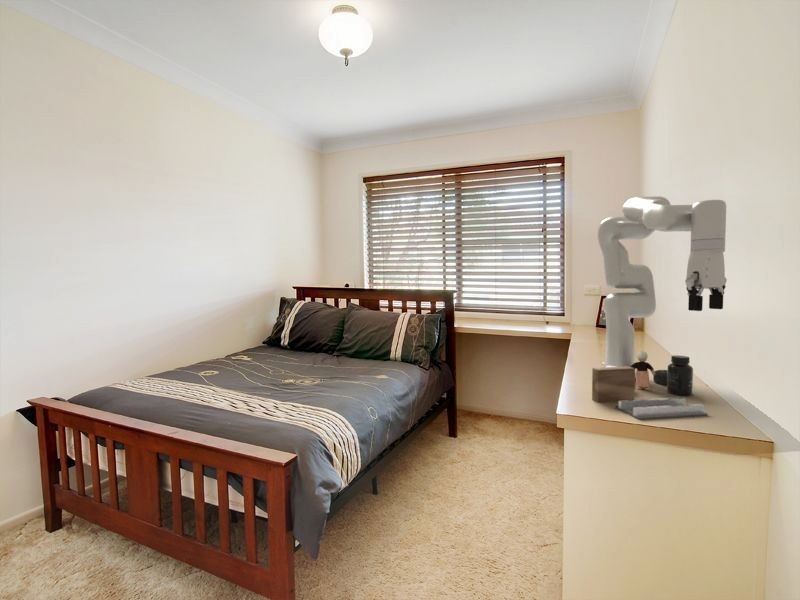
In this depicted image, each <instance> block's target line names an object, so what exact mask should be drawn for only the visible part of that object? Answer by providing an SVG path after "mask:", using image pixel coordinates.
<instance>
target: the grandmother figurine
mask: <svg viewBox="0 0 800 600" xmlns="http://www.w3.org/2000/svg"><path fill="white" fill-rule="evenodd" d="M635 355H636V356H635V357H636V358H637V360H638V361H636V362H634V364H632V365H631V366H630V367H632V368H635V372H636V379H635V389H636V390H646V391H651V390H652V387H650V374H649V371H650V372H651V374H652V376H653V375H655V374H656V373H655V371H656V370H655V369H654V367H653V366H652V365H651V364H650V363H649V362H648V361H647V359H648V355H649V354H648V353H647V352H646V351H639V352H637V354H635ZM646 361H647V362H646Z"/></svg>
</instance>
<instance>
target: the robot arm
mask: <svg viewBox="0 0 800 600" xmlns="http://www.w3.org/2000/svg"><path fill="white" fill-rule="evenodd" d="M622 214H623V216H612V217H607V218H605V219H603V220H602V221H601V222H600V223H599V226H598V229H597V240H598V244H599V247H600V249H601V253H602V257H603V266H604V268H603V269H604V275H605V283H606V285H607V288H609V289H612V290H634V292H614V293H610V294H608V295H607V296H606V297H605V298H604V300H603V310H604V311H603V312H604V315H605V325H606V326H605V333H606V335H605V336H606V337H605V339H606V340H605V343H606V344H605V361H604V362H602V365H601V366H603V367H606V366H608V365H609V366H617V367H625V366H629V367H630V366H631V365H632V364H634V363H635V355H636V354H635V348H636V347H635V344H636V343H635V339H636V332H635V331H636V330H635V327H634V325H633V324H632V322H631V321H630V319H632V318H633V319H635V318H637V319H639V318H640V319H642V318H649V317H651V316H653V315H654V313H655V311H656V309H657V303H656V301H657V300H656V293H655V291H656V290H655V284H654V277H653V272H652V270H651V269H650V268H649V267H648V266H647V265H645V264H641V263H636V264H633V263H632V264H631V262H630V259H629V258H630V257H629V252H628V250H627V248H626V247H625V246H624V244H623V243H621V242H620V240H643V239H646V238H648V237H649V236H651V235H653V233H654V232H656V231H659V232H663V233H664V232H666V233H667V232H669V233H670V232H690V249H689V250H690V251H689V252H690V253H689V255H688V259H687V265H686V266H687V268H686V278H685V281H684V282H685V286H686V291H687V296H688V304H687V305H688V307H687V310H689V311H693V312H695V311H696V312H701V311H703V304H704V303H703V300H704V299H703V298H704V297H703V295H702V294H703V292H704V290H705V289H708V291H710V294H709V297H708V298H709V299H708V308H709V309H711V310H723V308H724V295H725V289H726V283H727V280H728V279H727V278H726V274H725V271H726V270H725V256H724V252H726V234H727V233H726V232H727V231H726V227H727V203H726V201H724V200H721V199H707V200H701V201H697V202H695V203H693V204H671V202H670V201H669V199H668V198H666V197H663V196H636V197H632V198H629V199H628V200H627V201H626V202H625V203H624V204H623V205H622ZM635 380H636V371H635Z"/></svg>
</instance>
